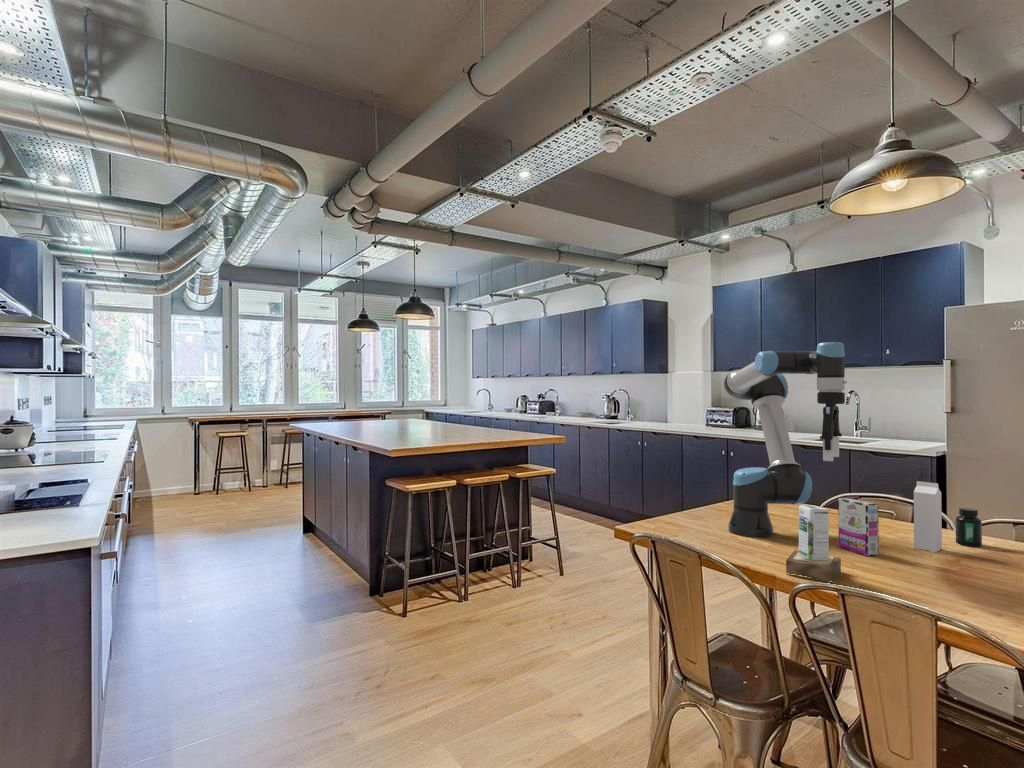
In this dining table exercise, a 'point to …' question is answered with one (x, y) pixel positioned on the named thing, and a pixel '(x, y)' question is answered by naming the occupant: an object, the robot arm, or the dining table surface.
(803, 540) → the syrup box
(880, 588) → the dining table surface
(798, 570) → the plinth
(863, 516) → the candy bar box
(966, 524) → the supplement bottle
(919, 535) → the milk
